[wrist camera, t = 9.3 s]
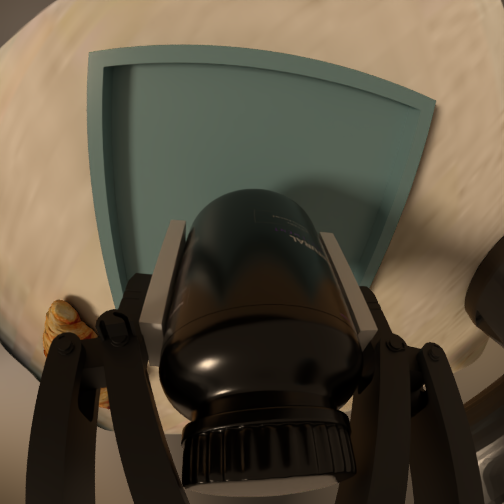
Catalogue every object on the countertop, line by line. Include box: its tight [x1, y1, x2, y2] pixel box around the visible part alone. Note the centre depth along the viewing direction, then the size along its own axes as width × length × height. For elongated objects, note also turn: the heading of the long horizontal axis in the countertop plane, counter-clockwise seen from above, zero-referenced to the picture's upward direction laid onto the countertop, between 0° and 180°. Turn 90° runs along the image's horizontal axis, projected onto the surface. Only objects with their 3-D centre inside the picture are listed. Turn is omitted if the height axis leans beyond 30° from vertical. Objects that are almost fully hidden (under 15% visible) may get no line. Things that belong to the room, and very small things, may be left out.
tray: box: [87, 45, 436, 309], centre depth 18 cm, size 20×20×2 cm
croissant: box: [43, 300, 110, 409], centre depth 27 cm, size 21×10×8 cm, turn 173°
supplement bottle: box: [159, 189, 364, 497], centre depth 11 cm, size 7×7×12 cm
